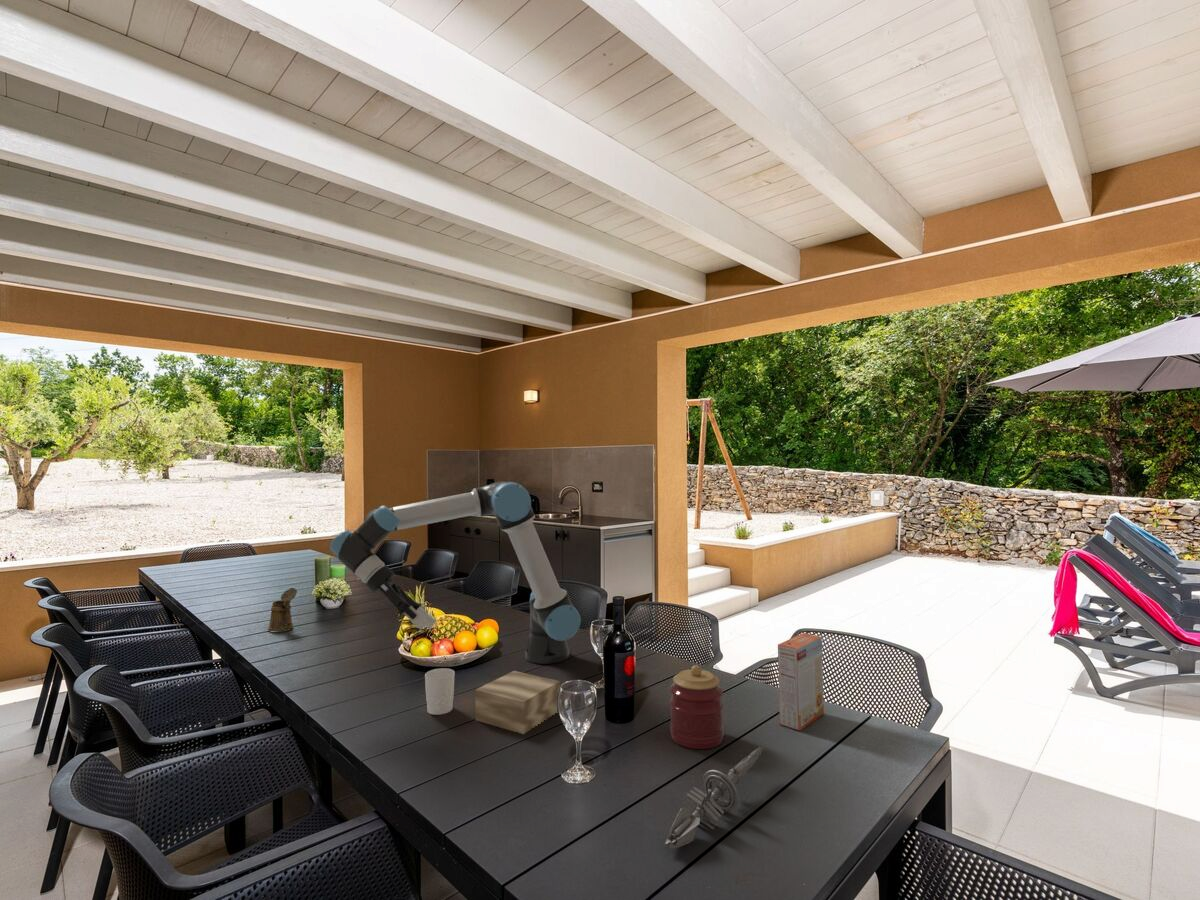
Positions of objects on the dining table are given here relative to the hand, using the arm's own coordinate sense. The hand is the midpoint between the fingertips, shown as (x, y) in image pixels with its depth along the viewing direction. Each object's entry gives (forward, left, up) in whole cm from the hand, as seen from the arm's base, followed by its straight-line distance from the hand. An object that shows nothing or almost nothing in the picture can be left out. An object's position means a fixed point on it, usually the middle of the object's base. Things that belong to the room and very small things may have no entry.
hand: (428, 625), depth 168 cm
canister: (-18, +73, -22) cm, 79 cm away
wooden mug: (-21, -106, -22) cm, 110 cm away
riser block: (-6, +27, -22) cm, 35 cm away
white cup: (+2, +6, -22) cm, 23 cm away
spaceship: (+8, +89, -22) cm, 92 cm away
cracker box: (-41, +93, -22) cm, 104 cm away
